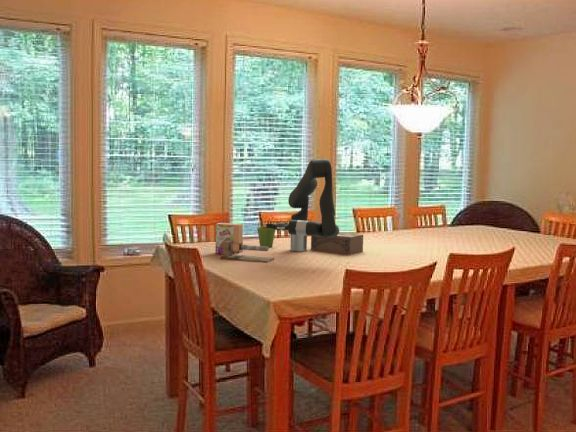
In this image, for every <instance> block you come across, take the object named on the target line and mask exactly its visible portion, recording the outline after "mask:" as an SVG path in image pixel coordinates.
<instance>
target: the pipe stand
mask: <svg viewBox="0 0 576 432" xmlns="http://www.w3.org/2000/svg"><path fill="white" fill-rule="evenodd" d="M232 249H233V244H232V241H225V242H223V254H222V256H220V257H219V259H220V260H221V259H222V260H231V261H232V260H233V261H242V262H243V261H245V262H255V263H256V262H257V263H268V264H269V263H270V262H271V261H274V260H275V257H269V256H268V257H267V256H256V255H255V256H254V255H245V254H244V255H243V254H236V255H232ZM239 249H240V250H243V251H254V252H255V251H256V252H269V247H265V246H260V245H251V244H250V245H249V244H243V245H240V244H239Z"/></svg>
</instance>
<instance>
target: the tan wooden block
mask: <svg viewBox="0 0 576 432" xmlns="http://www.w3.org/2000/svg"><path fill="white" fill-rule="evenodd" d="M234 224H235V225H234V236H233V253H236V255H240V253H243V251H244V250H240V249H239V244H240V245H244V241H243V239H244V238H243V234H244V232H243V231H244V228H243V227H244V226H243V225H244V224H242V223H234Z"/></svg>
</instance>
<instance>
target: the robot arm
mask: <svg viewBox="0 0 576 432" xmlns="http://www.w3.org/2000/svg"><path fill="white" fill-rule="evenodd" d="M319 178H322V179H323V178H324V187H323V190H322V193H321V195H320V196H319V197H320V198H319V210H320V215H321V221H320V222H318V221H311V220H310V221H309V220H308V217H309V205H310V204H309V202H310V197H309V196H310V195H312V194H313V193H314V191H315V190H316V188H317V187H318V180H317V179H319ZM296 185H297V186H296V187H295V188H294V189H293V190H292V191H291V192H290V193H289V196H288V205H289V207H290V208H293V209H299V211H297V212H296V213H293V214H291V217H290V219H289V221H288V222H274V223H273V222H272V223H271V222H267V223H266V224H265V227H266V228H273V229H275V231H278V232H279V231H282V232H285V231H287V232H288V234H289V235H290V245H289V247H290V248H289V249H290V251H293V252H306V251H308V250H307V249H308V236H310V237H311V236H323V237H335V236H337V235H338V233H339V232H340V228H339V226H338V225H337V224H336V220H335V215H336V209H335V203H334V195H333V169H332V164H331V160H329V159H328V158H319V159H318V158H317V159H312V160H310V161H309V163H308V165H307V166H306V170H305V172H304V173H303V176H302V177H301V178H300V180H299V181H298V183H297V184H296Z"/></svg>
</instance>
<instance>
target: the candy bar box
mask: <svg viewBox="0 0 576 432" xmlns="http://www.w3.org/2000/svg"><path fill="white" fill-rule="evenodd" d="M235 224H236V223H230V222H229V223H228V222H217V223H216V224H215V254H217V255H218V254H219V255H223V242H225V241H232V244H233V236H234V225H235ZM232 255H237V254H236V253H233V249H232Z"/></svg>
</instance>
